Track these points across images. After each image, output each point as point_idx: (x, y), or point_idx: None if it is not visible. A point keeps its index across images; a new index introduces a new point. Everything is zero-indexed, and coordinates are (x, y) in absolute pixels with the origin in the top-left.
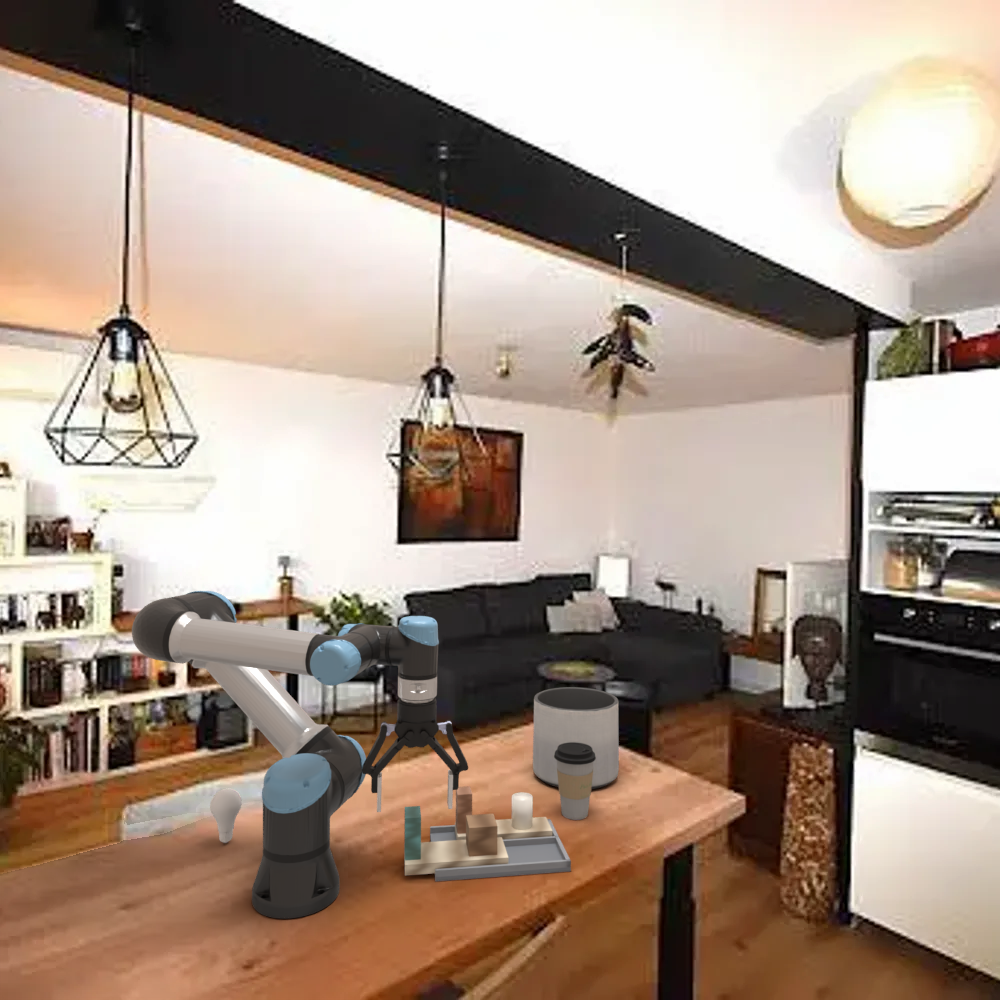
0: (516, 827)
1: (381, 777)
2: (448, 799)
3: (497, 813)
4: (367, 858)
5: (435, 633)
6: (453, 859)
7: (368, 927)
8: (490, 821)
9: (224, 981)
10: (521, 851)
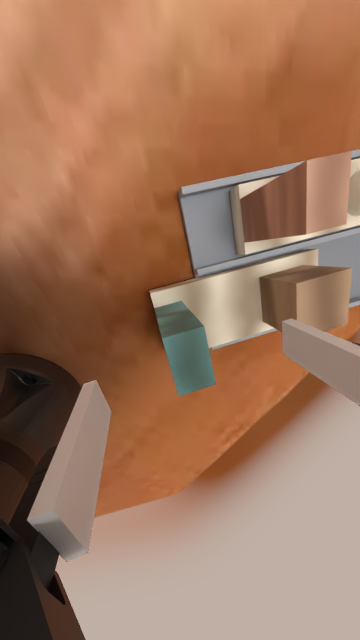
0: (350, 211)
1: (85, 550)
2: (300, 361)
3: (312, 57)
4: (83, 295)
5: None
6: (240, 333)
7: (148, 436)
8: (339, 306)
9: None
10: (328, 258)
